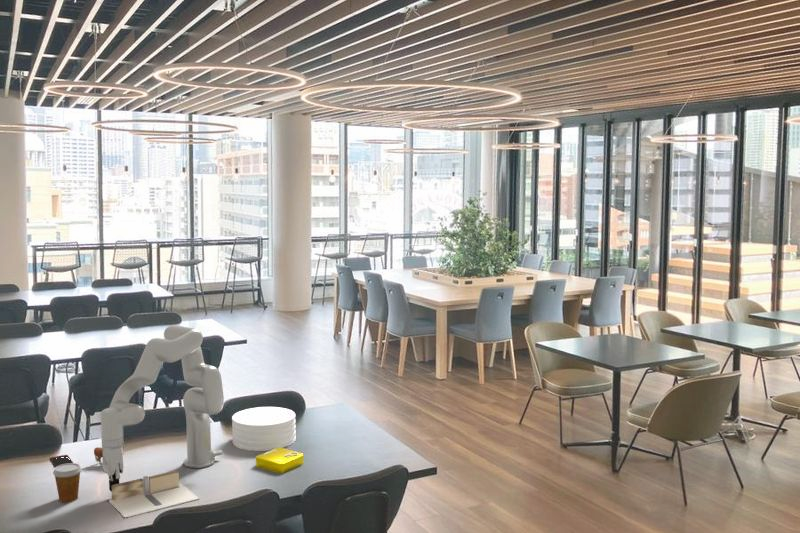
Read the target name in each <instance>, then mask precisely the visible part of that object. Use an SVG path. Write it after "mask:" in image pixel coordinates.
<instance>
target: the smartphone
mask: <svg viewBox="0 0 800 533" xmlns="http://www.w3.org/2000/svg"><path fill="white" fill-rule="evenodd" d="M61 457H64V458H61ZM66 457H68V458H69V459H70V460H69V459H68V458H66ZM56 458H57V459H56ZM49 460H50V462H51V464H52V465H53V466H55V467H57V466H59V465H62V464H67V463H74V462H73V460H72V459H71V458H70V456H69V455H68V454H62V455H58V456H51V457H49ZM55 467H54V468H55Z"/></svg>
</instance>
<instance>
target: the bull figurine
mask: <svg viewBox="0 0 800 533" xmlns="http://www.w3.org/2000/svg"><path fill="white" fill-rule="evenodd" d="M124 448H125V446H122V456H123V455H124V454H125V453H124V451H123V449H124ZM93 454H94V455H93V456H94V459H95V461H96V463H99V465H100V467H102V457H103V448H102V447H94V449H93Z"/></svg>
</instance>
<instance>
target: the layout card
mask: <svg viewBox="0 0 800 533" xmlns="http://www.w3.org/2000/svg"><path fill="white" fill-rule="evenodd" d="M179 475H180V474H179V470H173V471H168V472H162V473H159V474H155V475H151V476H147V475H145V476H143V477H142V479H143V494H140V495H136V496H132V497H128V498H124V499H119V500H115V501H113V500H112V499H108V502H109V503H110V504H111V506H113V508H114V509H115V508H116V509H117V510H118V511H119V512H120V513H121V514H120V513H119V512H118V511H117V512H118V513H119V514H120V515H121V516H122V517H123V518H124V517H125V518H124V519H127V518H126V517H128V518H130V517H131V516H132V517H136V516H139V515H143V514H147V513H150V512H155V511H159V510H163V509H167V508H171V507H175V506H178V505H181V504H186V503H190V502H194V501H197V500H200V498H199V497H198V496H197V495H196V494H194V492H192V491H190V489H188V488H187V487H186V486H185V485H183V484H182V483H181V482H180V479H179ZM116 509H115V510H116ZM135 515H136V516H135Z"/></svg>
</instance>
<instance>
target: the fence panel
mask: <svg viewBox="0 0 800 533" xmlns="http://www.w3.org/2000/svg"><path fill="white" fill-rule="evenodd" d="M111 486H112V492H111V500H113V501H115V500H119V499H124V498H128V497H132V496H136V495H140V494H143V492H144V485H143V477H142V478H137V479H134V480H129V481H125V482H121V483H120V482H119V484H115V485H111Z"/></svg>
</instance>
